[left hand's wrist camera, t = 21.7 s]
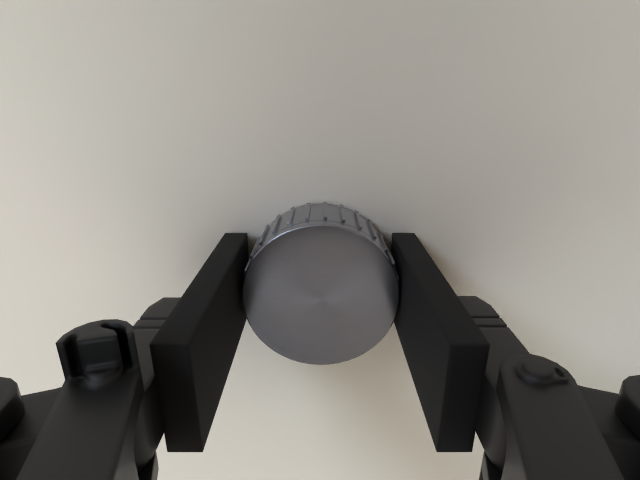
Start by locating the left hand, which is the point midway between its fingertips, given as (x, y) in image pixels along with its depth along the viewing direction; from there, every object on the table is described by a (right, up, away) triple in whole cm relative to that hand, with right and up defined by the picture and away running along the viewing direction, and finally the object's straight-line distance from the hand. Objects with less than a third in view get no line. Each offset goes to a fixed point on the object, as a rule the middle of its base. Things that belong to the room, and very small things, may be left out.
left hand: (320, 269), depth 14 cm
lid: (0, -1, -2) cm, 2 cm away
